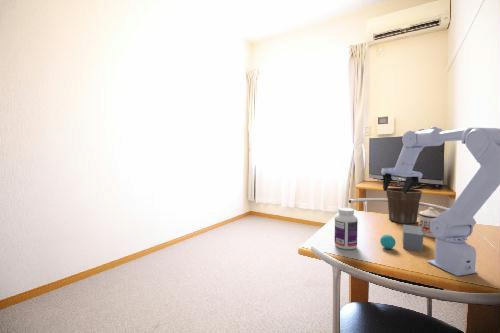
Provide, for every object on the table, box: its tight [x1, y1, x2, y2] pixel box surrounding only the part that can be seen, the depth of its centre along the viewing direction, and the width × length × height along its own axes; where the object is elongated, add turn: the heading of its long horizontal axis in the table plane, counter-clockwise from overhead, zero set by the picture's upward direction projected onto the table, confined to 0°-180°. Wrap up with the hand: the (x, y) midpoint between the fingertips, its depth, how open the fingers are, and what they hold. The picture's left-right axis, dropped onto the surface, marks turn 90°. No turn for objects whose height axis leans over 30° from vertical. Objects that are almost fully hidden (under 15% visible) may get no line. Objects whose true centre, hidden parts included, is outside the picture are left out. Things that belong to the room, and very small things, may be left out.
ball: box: [379, 234, 396, 250], centre depth 93 cm, size 5×5×5 cm
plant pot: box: [385, 187, 424, 225], centre depth 128 cm, size 16×16×16 cm
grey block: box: [401, 224, 424, 252], centre depth 96 cm, size 11×6×6 cm, turn 150°
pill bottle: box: [334, 207, 359, 250], centre depth 95 cm, size 8×8×14 cm
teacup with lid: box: [418, 206, 441, 239], centre depth 106 cm, size 12×9×12 cm
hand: (394, 190), depth 102 cm, fingers open, 7 cm apart
